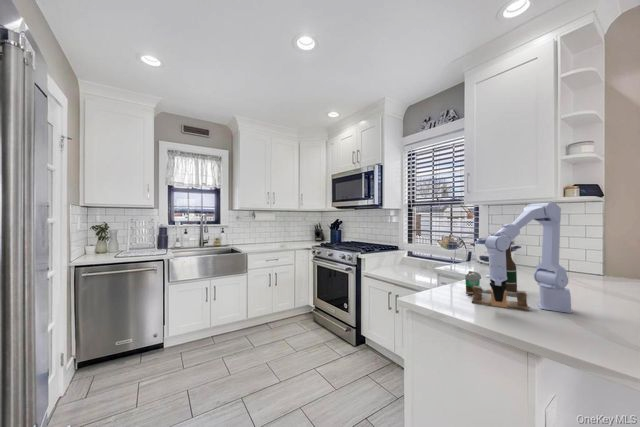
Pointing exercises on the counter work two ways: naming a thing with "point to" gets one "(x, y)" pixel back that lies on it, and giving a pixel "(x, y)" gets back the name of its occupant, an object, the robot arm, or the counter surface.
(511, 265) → the beer bottle
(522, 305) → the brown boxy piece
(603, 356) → the counter surface
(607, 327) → the counter surface
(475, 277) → the food container
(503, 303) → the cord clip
